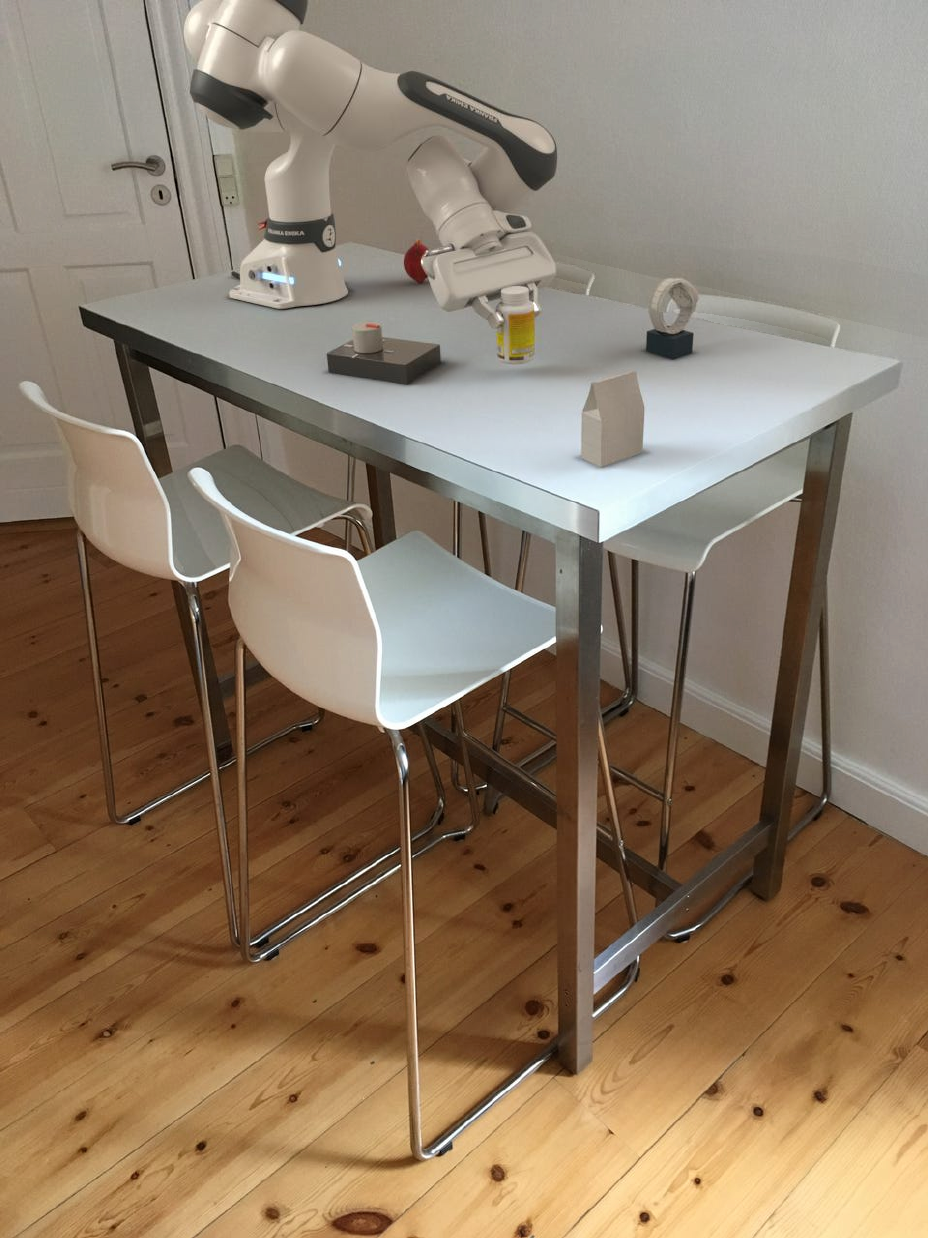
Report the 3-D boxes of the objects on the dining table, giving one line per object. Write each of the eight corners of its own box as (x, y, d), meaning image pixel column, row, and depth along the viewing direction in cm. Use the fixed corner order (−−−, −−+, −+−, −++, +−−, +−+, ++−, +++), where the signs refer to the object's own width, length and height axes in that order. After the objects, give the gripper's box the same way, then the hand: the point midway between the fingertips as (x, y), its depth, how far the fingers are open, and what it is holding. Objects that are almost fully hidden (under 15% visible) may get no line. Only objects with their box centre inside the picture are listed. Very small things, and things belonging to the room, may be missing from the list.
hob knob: (348, 351, 163) (345, 326, 161) (364, 342, 166) (362, 318, 164) (372, 354, 161) (370, 329, 159) (388, 346, 165) (386, 321, 163)
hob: (327, 372, 165) (325, 352, 163) (364, 352, 172) (362, 332, 170) (405, 385, 159) (404, 364, 157) (441, 363, 166) (440, 343, 164)
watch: (700, 349, 167) (706, 277, 161) (664, 362, 162) (668, 287, 157) (673, 341, 170) (677, 270, 165) (637, 353, 166) (640, 280, 160)
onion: (431, 287, 203) (429, 243, 199) (401, 286, 204) (398, 243, 200) (438, 279, 208) (436, 235, 204) (409, 278, 209) (406, 235, 205)
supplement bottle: (542, 357, 160) (542, 287, 155) (520, 368, 157) (519, 296, 151) (511, 350, 163) (510, 282, 158) (489, 361, 160) (487, 291, 154)
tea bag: (642, 453, 134) (646, 374, 129) (600, 467, 131) (602, 387, 126) (622, 444, 137) (625, 367, 132) (580, 457, 134) (582, 379, 129)
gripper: (424, 238, 150) (470, 324, 148) (536, 214, 160) (580, 294, 159) (407, 266, 155) (452, 348, 154) (517, 240, 166) (559, 317, 164)
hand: (518, 320), depth 156 cm, fingers closed on supplement bottle, 5 cm apart
